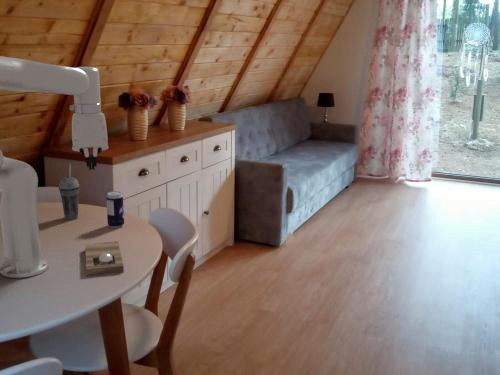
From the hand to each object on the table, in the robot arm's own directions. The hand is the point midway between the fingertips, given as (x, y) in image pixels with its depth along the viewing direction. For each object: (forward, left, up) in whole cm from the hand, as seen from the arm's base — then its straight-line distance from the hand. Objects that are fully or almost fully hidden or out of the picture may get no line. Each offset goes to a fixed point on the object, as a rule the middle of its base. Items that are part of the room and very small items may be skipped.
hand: (91, 168), depth 169 cm
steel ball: (-12, -13, -23) cm, 29 cm away
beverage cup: (+18, +26, -25) cm, 41 cm away
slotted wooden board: (-9, -10, -25) cm, 28 cm away
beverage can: (+18, +6, -25) cm, 32 cm away
